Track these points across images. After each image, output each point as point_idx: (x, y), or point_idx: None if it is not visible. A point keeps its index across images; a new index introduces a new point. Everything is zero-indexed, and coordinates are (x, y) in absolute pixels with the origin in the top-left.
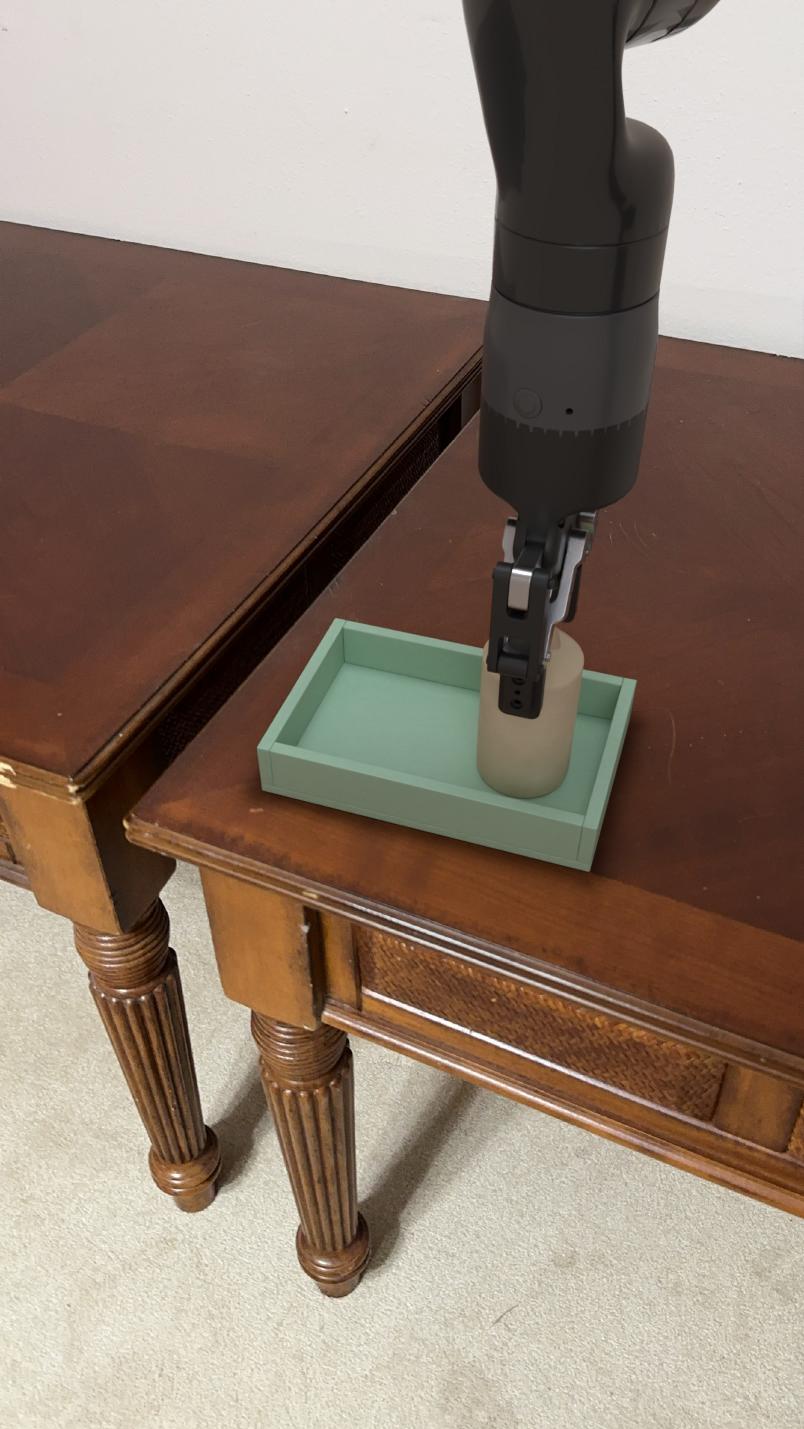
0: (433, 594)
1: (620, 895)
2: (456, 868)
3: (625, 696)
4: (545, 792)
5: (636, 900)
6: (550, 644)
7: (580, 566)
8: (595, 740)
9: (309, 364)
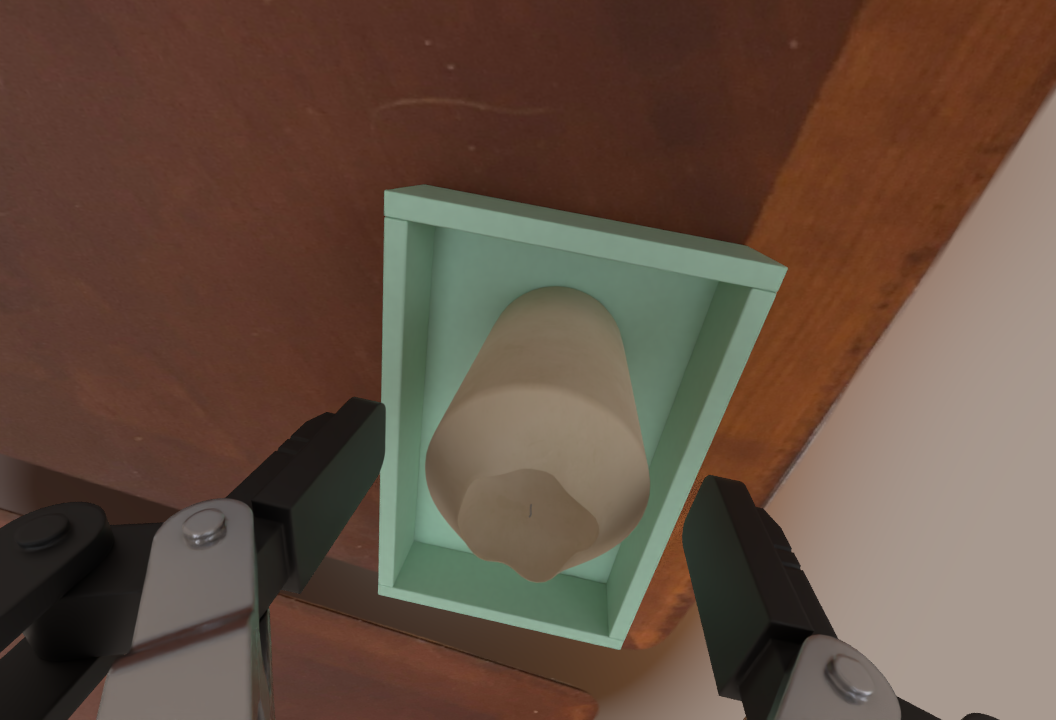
0: (251, 453)
1: (795, 197)
2: (730, 411)
3: (435, 213)
4: (613, 318)
5: (808, 171)
6: (816, 693)
7: (268, 505)
8: (487, 243)
9: None
